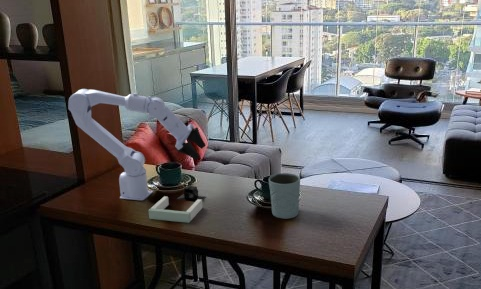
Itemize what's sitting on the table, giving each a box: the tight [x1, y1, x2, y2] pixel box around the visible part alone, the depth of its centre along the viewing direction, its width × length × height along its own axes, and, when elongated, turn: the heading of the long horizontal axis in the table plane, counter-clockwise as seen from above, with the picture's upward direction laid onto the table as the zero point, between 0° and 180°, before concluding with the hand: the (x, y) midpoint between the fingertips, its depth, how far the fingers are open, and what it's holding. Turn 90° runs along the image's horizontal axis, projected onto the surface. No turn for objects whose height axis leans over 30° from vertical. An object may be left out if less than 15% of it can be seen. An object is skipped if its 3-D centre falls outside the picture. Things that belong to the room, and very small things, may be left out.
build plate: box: [176, 185, 207, 203], centre depth 166 cm, size 12×7×5 cm, turn 64°
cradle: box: [148, 195, 203, 224], centre depth 154 cm, size 14×12×3 cm
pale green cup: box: [268, 172, 301, 220], centre depth 150 cm, size 10×10×12 cm
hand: (200, 152), depth 168 cm, fingers open, 7 cm apart
